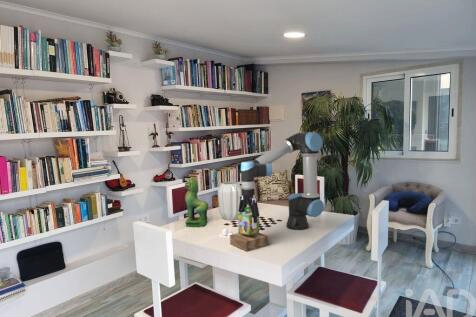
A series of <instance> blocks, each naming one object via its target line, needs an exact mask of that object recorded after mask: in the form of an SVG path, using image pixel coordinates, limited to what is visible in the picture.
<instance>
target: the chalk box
mask: <svg viewBox="0 0 476 317" xmlns="http://www.w3.org/2000/svg"><path fill="white" fill-rule="evenodd" d="M254 215H255V214H254ZM252 217H253V215H252V212H251V209H250V207H249V206H247V207H246V208H245V212H242V213H239V214H238V219H237V225H238V233H242V234H246V235H252V234H255V233H258V232H259V233H260V216H258V217H257V228H254V229H252Z"/></svg>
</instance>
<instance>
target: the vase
mask: <svg viewBox="0 0 476 317" xmlns="http://www.w3.org/2000/svg"><path fill="white" fill-rule="evenodd" d="M242 189H243V188H242V184H240V182H237V181H226V182H225V181H224V182H221V183H220V186H219V187H218V188H217V199H218V200H217V201H218V203H217V204H218V210H219V211H218V212H219V214H220V215H221V218H222V219H224V220H225V221H235V220H238V214H239V213H240V212H239V211H238V210H239V203H240V196H243V195H242ZM240 210H241V209H240Z"/></svg>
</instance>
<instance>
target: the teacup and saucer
mask: <svg viewBox="0 0 476 317" xmlns="http://www.w3.org/2000/svg"><path fill="white" fill-rule="evenodd" d="M232 234H233V233H232V232H228V228H227V229H226V228H224V229H221V231H220V234H218V237H220V238H223V237H226V238H230V235H232Z"/></svg>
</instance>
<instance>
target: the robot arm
mask: <svg viewBox="0 0 476 317" xmlns="http://www.w3.org/2000/svg"><path fill="white" fill-rule="evenodd" d="M322 148H323V138H322V137H321V135H320V134H319V133H317V132H311V131H310V132H308V131H307V132H297V133H294V134H292V135H291V136H288V137H287V138H286V139H284V140H283V141H282V142H281V143H280V144H278V145H276V146H274V148H272V149H270V150H268V151H267V152H265V153H263V154H261V155H260V156H258V157H257V158H255V159H253V160H251V161H242V162H241V165H240V175H241V176H240V178H241V187H242V195H243V196H240V203H239V210H238V211H239V212H240V213H242V212H245V208H247V207H250V210H251V212H252V215H253V217H252V229H254V228H257V217H258V216H259V217H260V210H259V204H258V198H254V196H255V193H256V192H255V190H256V189H255V188H256V187H255V184H256V183H255V178H264V177H270V176H271V175H272V174H273V167H272V163H274V162H275V161H277V160H279V159H281V158H282V157H284V156H286V155H287V154H291V153H293V152H296V151H300V153H299V154H300V155H301V156H302V171H303V172H302V174H303V176H302V177H303V193H302V192H301V193H291V194H289V195H288V218H287V221H286V225H285V226H286V228H288V229H290V230H295V231H300V230H307V229H309V228H308V227H310V226H309V225H310V224H309V222H308V217H312V218H317V217H319V216H321V214H322V213H323V211H324V207H325V204H324V202H323V201H322V200H321V195H320V194H319V193H318V169H317V168H318V166H317V164H318V163H317V156H318V155H319V154H320V151H321V149H322ZM240 209H241V210H240ZM254 214H255V215H254ZM307 216H308V217H307Z"/></svg>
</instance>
